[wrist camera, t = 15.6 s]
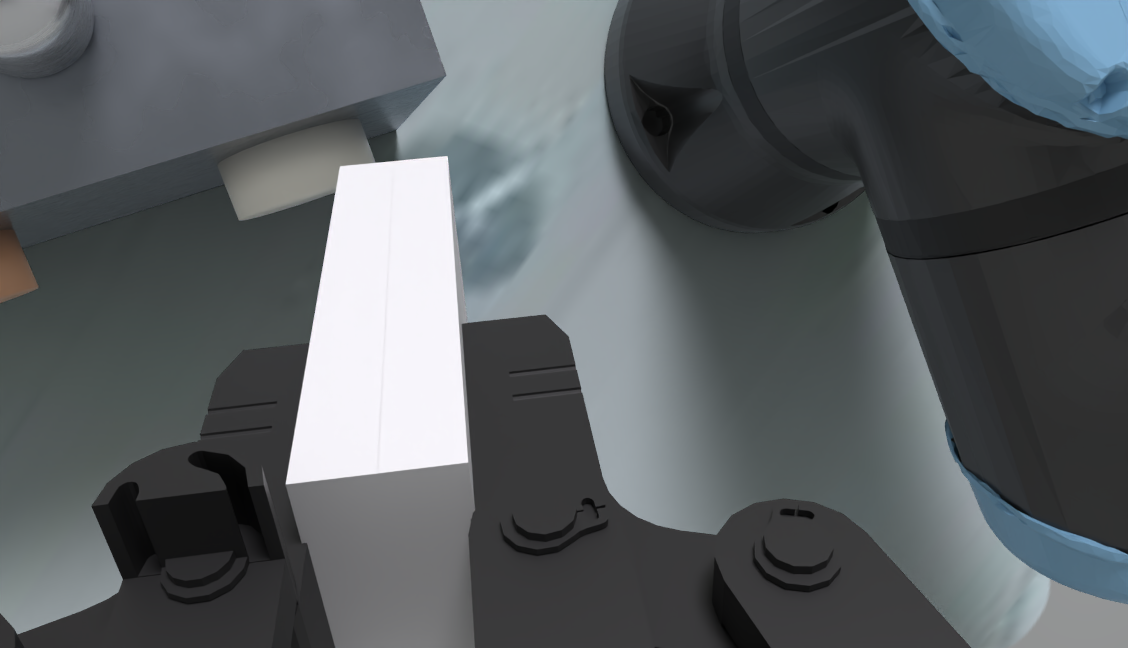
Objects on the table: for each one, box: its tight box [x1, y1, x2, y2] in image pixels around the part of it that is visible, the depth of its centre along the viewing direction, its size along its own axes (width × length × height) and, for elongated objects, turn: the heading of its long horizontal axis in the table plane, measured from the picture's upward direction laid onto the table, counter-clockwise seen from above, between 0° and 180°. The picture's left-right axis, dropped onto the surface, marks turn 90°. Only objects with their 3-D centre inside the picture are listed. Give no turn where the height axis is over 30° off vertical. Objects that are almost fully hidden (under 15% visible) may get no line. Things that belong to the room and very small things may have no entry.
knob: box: [217, 119, 376, 221], centre depth 34 cm, size 10×5×5 cm, turn 20°
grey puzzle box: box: [0, 0, 446, 248], centre depth 33 cm, size 8×22×12 cm, turn 110°
